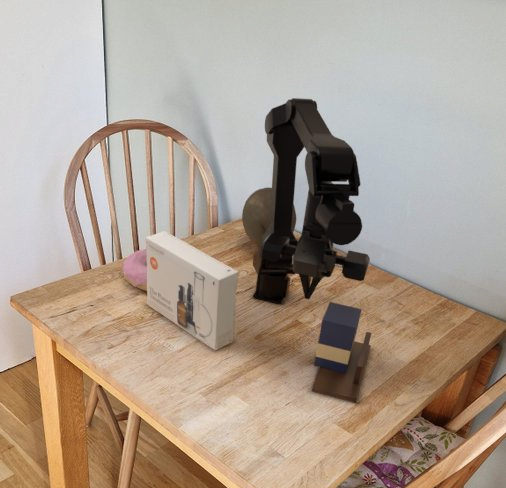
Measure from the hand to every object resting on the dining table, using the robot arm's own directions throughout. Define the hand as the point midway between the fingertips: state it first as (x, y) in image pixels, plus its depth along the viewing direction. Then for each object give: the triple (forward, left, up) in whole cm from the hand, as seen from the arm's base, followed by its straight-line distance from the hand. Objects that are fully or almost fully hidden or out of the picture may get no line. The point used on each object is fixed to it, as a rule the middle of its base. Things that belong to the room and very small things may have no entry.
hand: (307, 298), depth 113 cm
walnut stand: (+9, -2, -12) cm, 15 cm away
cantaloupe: (-19, +43, -12) cm, 48 cm away
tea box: (+7, -1, -6) cm, 9 cm away
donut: (-36, +14, -12) cm, 40 cm away
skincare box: (-23, 0, -12) cm, 26 cm away
